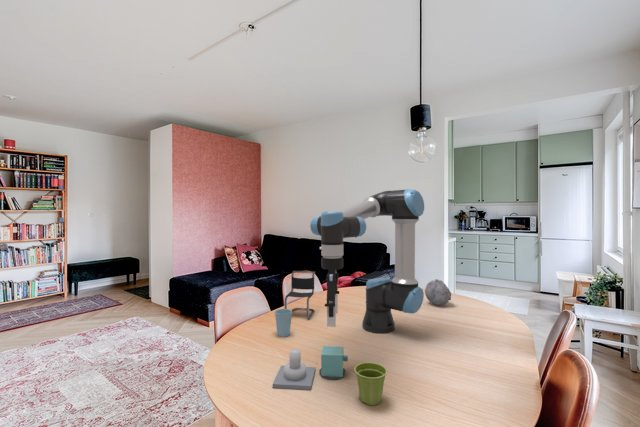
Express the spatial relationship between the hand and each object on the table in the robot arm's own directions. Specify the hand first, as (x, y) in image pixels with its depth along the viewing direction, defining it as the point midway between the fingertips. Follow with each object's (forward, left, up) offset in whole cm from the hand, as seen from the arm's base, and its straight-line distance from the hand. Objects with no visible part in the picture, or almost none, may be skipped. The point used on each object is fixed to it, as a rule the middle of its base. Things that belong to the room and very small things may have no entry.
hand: (332, 319), depth 107 cm
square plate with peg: (+12, +5, -18) cm, 22 cm away
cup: (+24, -32, -19) cm, 44 cm away
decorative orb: (-57, -86, -19) cm, 105 cm away
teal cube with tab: (0, 0, -18) cm, 18 cm away
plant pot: (-12, +14, -19) cm, 26 cm away
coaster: (0, 0, -18) cm, 18 cm away
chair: (+21, -60, -19) cm, 66 cm away
